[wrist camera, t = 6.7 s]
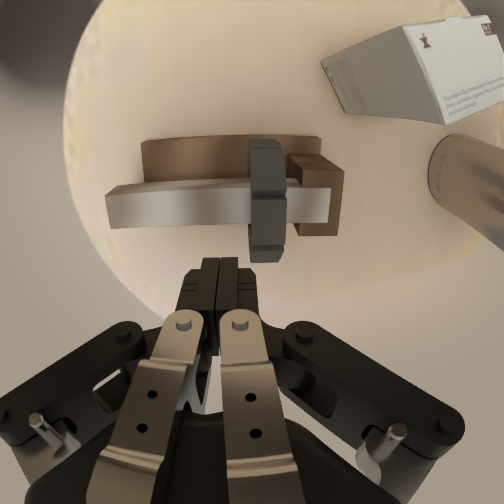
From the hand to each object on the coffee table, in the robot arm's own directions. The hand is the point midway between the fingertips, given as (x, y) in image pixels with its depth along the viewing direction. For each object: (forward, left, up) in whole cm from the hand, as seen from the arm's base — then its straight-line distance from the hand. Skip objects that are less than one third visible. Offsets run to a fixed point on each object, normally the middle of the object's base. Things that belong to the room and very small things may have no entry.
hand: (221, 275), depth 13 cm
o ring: (-3, 0, -14) cm, 14 cm away
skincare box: (-13, -11, -17) cm, 24 cm away
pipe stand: (0, 0, -17) cm, 17 cm away
